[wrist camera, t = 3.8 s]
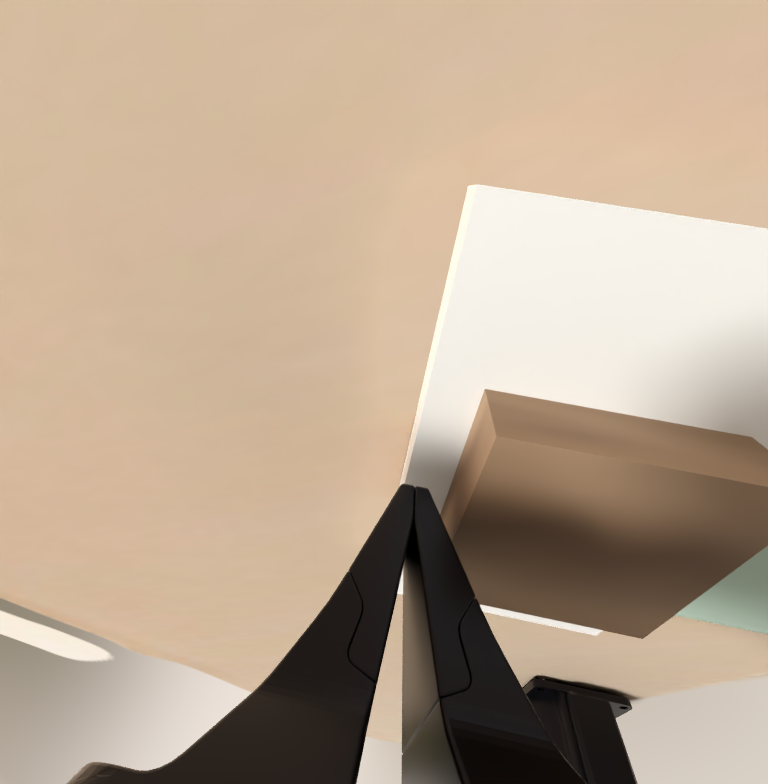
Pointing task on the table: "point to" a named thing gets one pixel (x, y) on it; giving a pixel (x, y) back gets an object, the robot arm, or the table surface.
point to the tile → (601, 512)
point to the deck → (593, 324)
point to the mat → (736, 598)
